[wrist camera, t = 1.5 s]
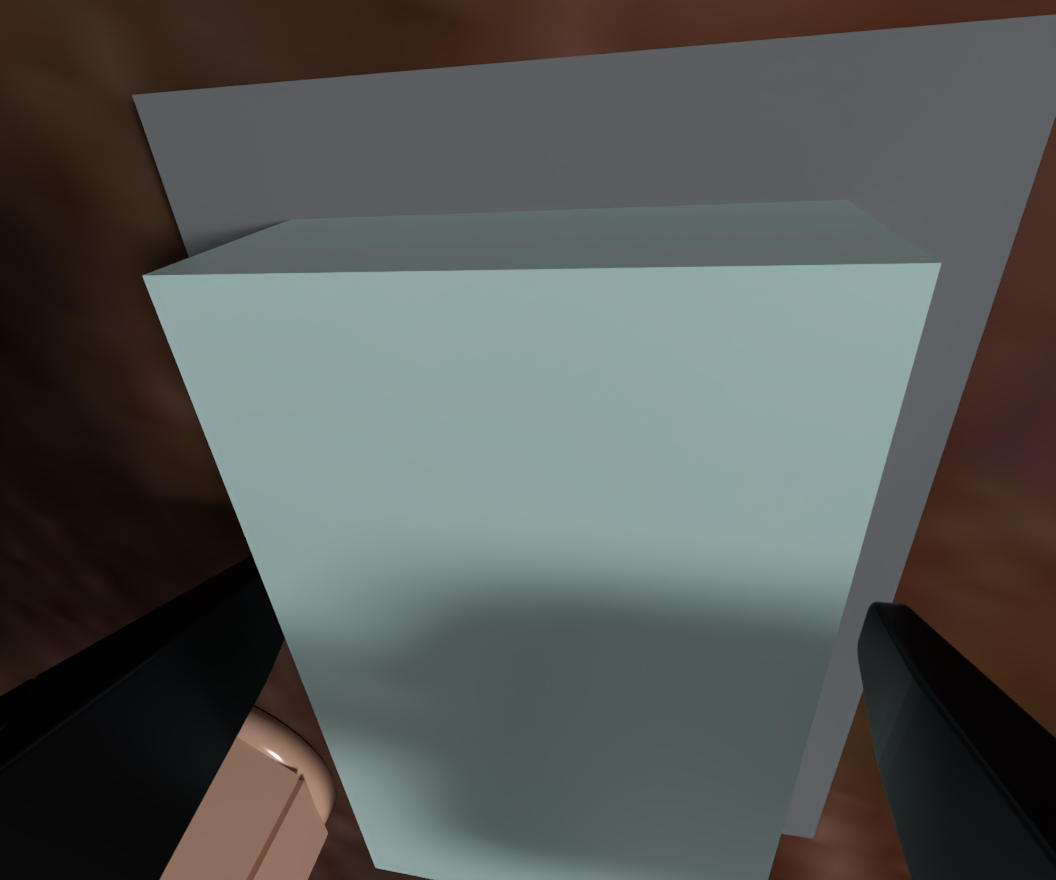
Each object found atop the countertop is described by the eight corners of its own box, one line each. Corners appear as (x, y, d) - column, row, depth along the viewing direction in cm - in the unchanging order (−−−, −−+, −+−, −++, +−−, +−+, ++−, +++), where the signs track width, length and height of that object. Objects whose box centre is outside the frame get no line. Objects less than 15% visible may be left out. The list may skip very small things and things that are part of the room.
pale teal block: (734, 784, 12) (750, 942, 10) (423, 737, 13) (375, 867, 11) (846, 200, 6) (941, 263, 4) (290, 219, 8) (142, 275, 6)
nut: (358, 840, 18) (287, 1017, 15) (169, 804, 19) (64, 958, 16) (301, 700, 15) (192, 887, 11) (76, 668, 16) (-81, 826, 12)
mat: (806, 809, 13) (812, 838, 12) (376, 742, 15) (366, 765, 14) (1054, 18, 6) (1091, 11, 5) (165, 93, 8) (131, 94, 7)
